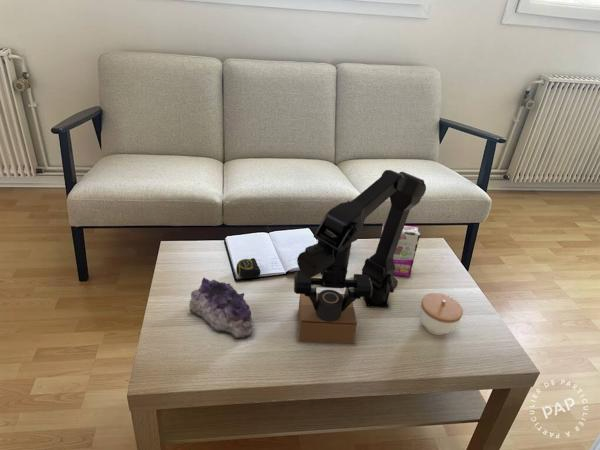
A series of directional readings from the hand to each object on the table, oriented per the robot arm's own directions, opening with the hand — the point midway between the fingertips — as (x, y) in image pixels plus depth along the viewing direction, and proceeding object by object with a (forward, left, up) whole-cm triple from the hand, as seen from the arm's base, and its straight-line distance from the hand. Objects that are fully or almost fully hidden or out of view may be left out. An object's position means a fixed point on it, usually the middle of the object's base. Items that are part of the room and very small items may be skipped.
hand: (328, 309), depth 105 cm
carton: (0, -2, -8) cm, 9 cm away
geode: (+27, -4, -9) cm, 29 cm away
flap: (0, -5, -1) cm, 5 cm away
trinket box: (-31, -4, -9) cm, 32 cm away
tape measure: (+22, -24, -9) cm, 34 cm away
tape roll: (0, 0, -1) cm, 1 cm away
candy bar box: (-24, -29, -9) cm, 39 cm away
